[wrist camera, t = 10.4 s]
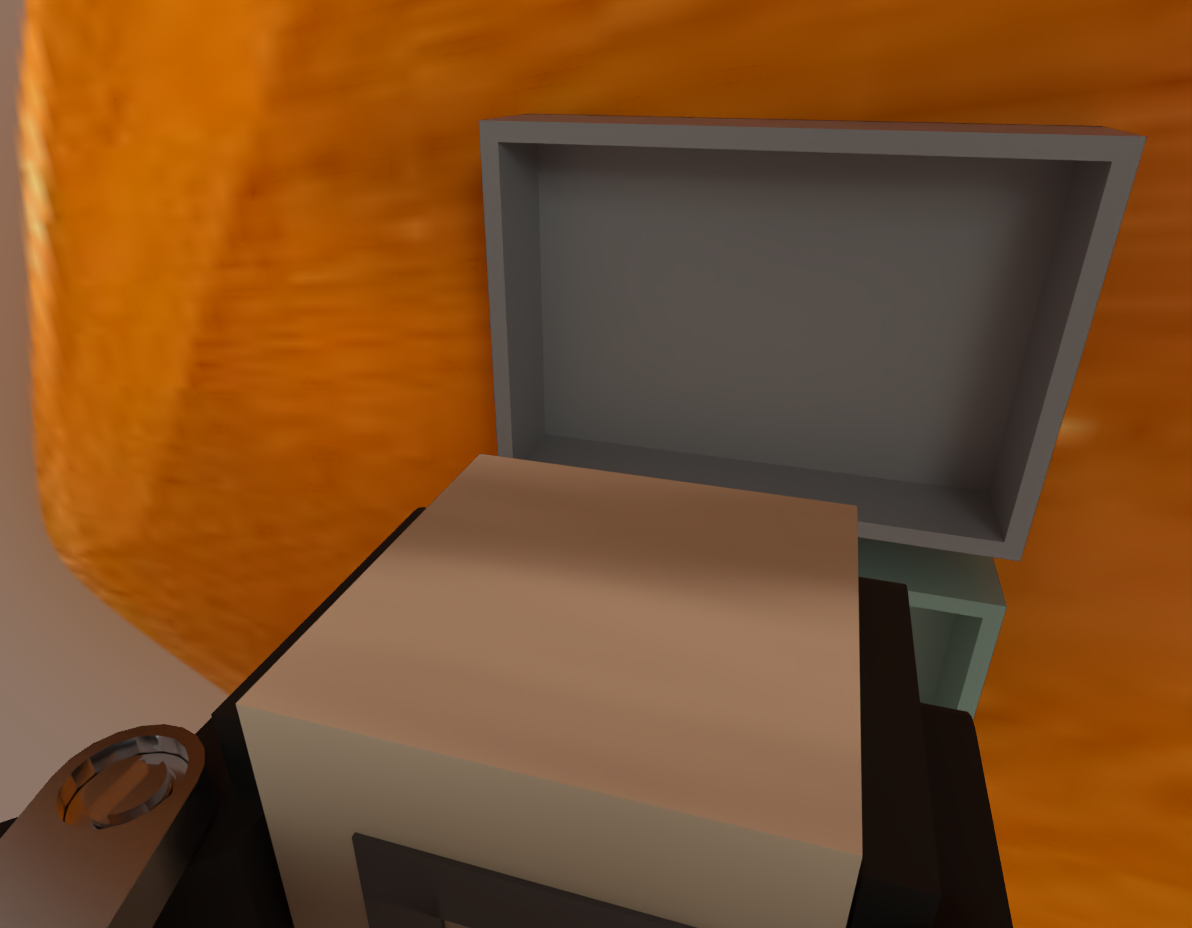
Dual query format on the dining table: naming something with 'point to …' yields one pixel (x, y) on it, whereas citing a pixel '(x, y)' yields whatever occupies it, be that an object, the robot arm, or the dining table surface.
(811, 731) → the letter cube
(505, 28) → the dining table surface
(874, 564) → the green-grey bin
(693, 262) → the charcoal bin
